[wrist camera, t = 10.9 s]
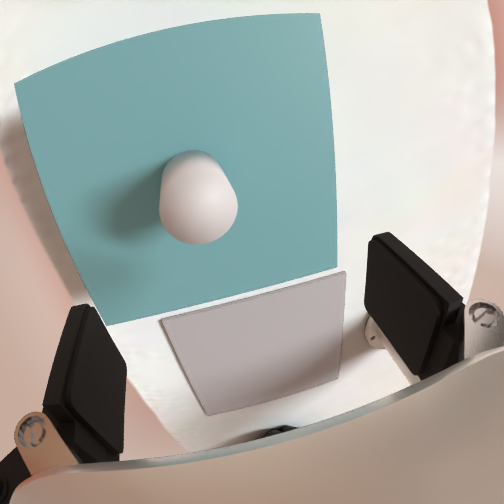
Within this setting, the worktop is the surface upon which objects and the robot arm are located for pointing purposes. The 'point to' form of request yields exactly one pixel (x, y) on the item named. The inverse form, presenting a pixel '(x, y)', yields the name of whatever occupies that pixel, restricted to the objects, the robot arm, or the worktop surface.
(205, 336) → the mat
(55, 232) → the worktop surface
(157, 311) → the lid
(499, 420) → the robot arm
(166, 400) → the worktop surface
